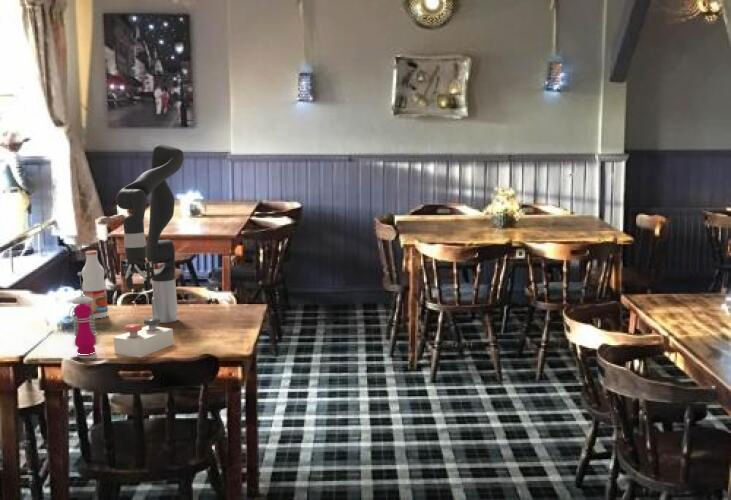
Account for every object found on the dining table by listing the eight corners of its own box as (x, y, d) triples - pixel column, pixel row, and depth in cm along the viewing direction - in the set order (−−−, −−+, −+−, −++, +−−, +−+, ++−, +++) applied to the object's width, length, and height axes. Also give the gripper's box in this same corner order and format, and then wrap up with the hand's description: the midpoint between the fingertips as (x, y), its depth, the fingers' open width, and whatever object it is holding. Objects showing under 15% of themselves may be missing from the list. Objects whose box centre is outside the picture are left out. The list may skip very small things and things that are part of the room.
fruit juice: (90, 314, 401) (84, 249, 396) (111, 314, 400) (106, 249, 395) (81, 319, 392) (75, 253, 387) (103, 319, 391) (97, 253, 386)
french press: (103, 332, 370) (98, 270, 365) (81, 340, 360) (76, 276, 355) (84, 330, 374) (79, 268, 370) (63, 337, 364) (57, 274, 360)
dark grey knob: (141, 334, 348) (140, 320, 347) (152, 330, 353) (151, 316, 352) (153, 336, 345) (152, 322, 344) (164, 332, 350) (163, 318, 349)
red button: (122, 341, 339) (120, 327, 338) (133, 337, 344) (132, 323, 343) (134, 343, 336) (133, 328, 335) (146, 339, 341) (145, 324, 340)
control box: (114, 353, 341) (113, 337, 340) (149, 341, 356) (147, 325, 355) (139, 357, 335) (138, 341, 334) (173, 344, 350) (172, 328, 349)
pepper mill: (78, 351, 345) (73, 297, 342) (98, 350, 346) (94, 296, 342) (74, 356, 338) (69, 302, 335) (94, 355, 339) (90, 301, 335)
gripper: (113, 245, 338) (117, 290, 340) (142, 247, 330) (145, 293, 333) (128, 242, 344) (132, 286, 347) (157, 244, 337) (160, 289, 339)
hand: (138, 289), depth 340 cm, fingers open, 8 cm apart
